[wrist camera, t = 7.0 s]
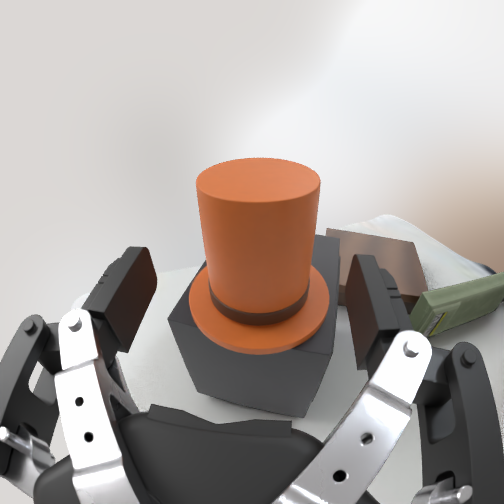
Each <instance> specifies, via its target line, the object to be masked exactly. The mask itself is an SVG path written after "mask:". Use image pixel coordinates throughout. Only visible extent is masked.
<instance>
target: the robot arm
mask: <svg viewBox="0 0 504 504" xmlns="http://www.w3.org/2000/svg"><path fill="white" fill-rule="evenodd" d="M156 288H157V276H156V272H155V269H154V266H153V263H152V259H151V256H150V252H149V250H148V248H146V247H128V248H127V249H126V251H125V252H124V254H123V255H122V257H121V258H118V259H117V260H116V261H114V262H113V263H112V264H110V265H109V266H108V268H107V270H106V271H105V272H104V274H103V276H102V277H101V278H100V280H99V281H98V284H96V286H95V287H94V289H93V290H92V292H91V293H90V295H89V296H88V298H87V300H86V301H85V303H84V304H83V306H82V308H81V309H75V310H72V311H70V312H69V313H67V314H66V315H65V316H64V317H63V318H62V320H61V321H60V322H59V323H51V324H46V323H45V321H44V320H43V319H42V317H41V316H40V315H31V316H29V317H28V318H26V319H25V320H24V321H23V322H22V323H21V325H20V327H19V328H18V330H17V332H16V334H15V336H14V337H13V339H12V341H11V343H10V345H9V346H8V349H7V350H6V352H5V354H4V356H3V358H2V360H1V362H0V477H2V478H5V479H7V480H8V481H9V482H11V483H12V484H13V485H14V486H16V487H17V488H18V489H20V490H21V491H23V492H24V493H25V494H27V495H28V496H30V497H31V498H33V500H34V504H380V503H379V502H378V501H377V500H376V499H375V498H374V497H373V496H372V495H371V494H370V493H369V492H368V491H367V490H366V489H367V488H368V486H369V485H370V484H371V482H372V481H373V479H374V478H375V476H376V475H377V473H378V472H379V470H380V469H381V467H382V466H383V464H384V463H385V461H386V460H387V458H388V456H389V455H390V453H391V451H392V450H393V448H394V446H395V445H396V443H397V441H398V439H399V438H400V436H401V434H402V432H403V430H404V428H405V426H406V425H407V423H408V421H409V419H410V416H411V413H412V409H411V408H410V405H411V403H415V404H417V409H418V418H419V427H420V437H421V451H422V477H423V488H422V489H421V490H419V491H418V493H417V494H416V495H415V497H414V498H413V500H412V502H411V504H504V454H503V445H502V438H501V431H500V425H499V420H498V415H497V410H496V405H495V401H494V397H493V393H492V389H491V385H490V381H489V378H488V374H487V371H486V368H485V364H484V361H483V358H482V356H481V353H480V352H479V350H478V349H477V348H476V347H475V346H474V345H472V344H471V343H468V342H460V343H458V344H456V345H455V347H454V348H453V349H452V350H451V351H449V350H445V349H440V348H436V347H432V346H431V345H430V343H429V341H428V340H427V338H426V337H425V336H423V335H422V334H421V333H419V332H417V331H414V330H413V327H412V324H411V321H410V318H409V315H408V313H407V310H406V307H405V305H404V302H403V299H401V294H400V292H399V290H398V287H397V284H396V282H395V279H394V277H393V276H392V275H391V274H390V273H389V272H388V271H387V270H386V269H385V268H379V266H378V264H377V261H376V259H375V256H374V255H364V254H354V256H353V258H352V262H351V266H350V270H349V274H348V278H347V282H346V286H345V300H346V306H347V311H348V316H349V321H350V327H351V332H352V338H353V344H354V350H355V356H356V363H357V370H367V372H368V378H369V380H368V381H367V383H366V384H365V386H364V387H363V389H362V390H361V392H360V393H359V395H358V396H357V398H356V399H355V401H354V402H353V404H352V405H351V407H350V408H349V410H348V411H347V412H346V414H345V415H344V416H343V418H342V419H341V420H340V422H339V423H338V424H337V426H336V427H335V428H334V429H333V431H332V432H331V433H330V434H329V436H328V437H327V438H326V439H325V441H324V442H323V443H322V442H321V441H319V440H318V439H316V438H315V437H313V436H311V435H309V434H307V433H305V432H303V431H300V430H297V429H293V428H291V427H292V421H279V420H258V419H254V420H248V421H241V422H233V423H224V424H215V423H212V422H209V421H207V420H204V419H202V418H199V417H197V416H195V415H192V414H190V413H188V412H185V411H183V410H178V409H173V408H168V407H164V406H159V405H155V404H151V406H150V409H149V411H146V412H140V411H139V410H138V408H137V406H136V405H135V403H134V401H133V400H132V398H131V395H130V393H129V390H128V387H127V384H126V381H125V378H124V375H123V372H122V369H121V366H120V363H119V360H118V358H117V356H116V353H117V351H120V352H125V353H128V352H129V349H130V347H131V345H132V342H133V340H134V338H135V335H136V333H137V331H138V328H139V326H140V324H141V322H142V319H143V317H144V315H145V313H146V310H147V308H148V306H149V304H150V302H151V300H152V297H153V295H154V293H155V291H156ZM37 361H38V362H40V364H41V365H42V366H43V367H44V368H43V370H42V372H41V374H40V377H39V379H38V382H37V384H36V386H35V389H34V391H33V393H32V392H31V391H30V389H29V385H28V383H29V379H30V376H31V374H32V372H33V370H34V367H35V365H36V363H37ZM59 414H60V416H61V421H62V425H63V430H64V434H65V438H66V442H67V446H68V449H69V453H70V454H69V455H68V456H67V457H65V458H63V459H62V460H60V461H59V462H57V463H56V464H55V457H54V456H53V455H52V454H51V453H50V449H49V447H50V443H51V440H52V436H53V433H54V429H55V426H56V423H57V420H58V417H59ZM50 466H51V467H50Z"/></svg>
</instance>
